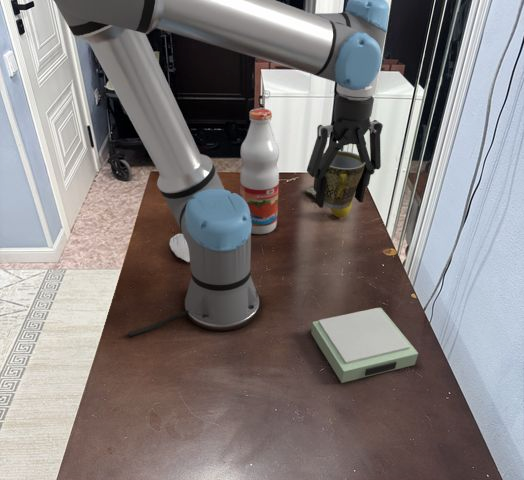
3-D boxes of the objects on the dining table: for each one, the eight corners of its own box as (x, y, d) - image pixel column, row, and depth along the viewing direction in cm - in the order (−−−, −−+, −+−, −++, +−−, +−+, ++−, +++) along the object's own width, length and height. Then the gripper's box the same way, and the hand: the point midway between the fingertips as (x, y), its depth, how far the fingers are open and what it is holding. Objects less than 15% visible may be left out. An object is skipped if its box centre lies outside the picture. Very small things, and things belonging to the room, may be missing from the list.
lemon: (348, 223, 129) (353, 195, 124) (327, 221, 130) (331, 192, 125) (350, 213, 133) (354, 185, 128) (329, 211, 134) (333, 183, 129)
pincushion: (202, 262, 115) (200, 240, 111) (176, 266, 113) (173, 244, 110) (190, 236, 123) (188, 215, 119) (166, 240, 122) (163, 219, 118)
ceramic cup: (312, 191, 117) (317, 149, 110) (355, 194, 117) (362, 151, 110) (315, 218, 107) (321, 173, 100) (361, 220, 107) (370, 176, 100)
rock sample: (310, 170, 143) (328, 159, 136) (329, 188, 146) (347, 178, 138) (294, 197, 141) (311, 187, 133) (313, 215, 143) (331, 206, 136)
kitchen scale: (342, 384, 88) (345, 370, 85) (310, 333, 97) (312, 319, 95) (415, 366, 91) (420, 352, 89) (378, 318, 101) (381, 305, 99)
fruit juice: (265, 214, 132) (268, 102, 113) (283, 229, 126) (290, 114, 107) (234, 222, 129) (231, 108, 110) (251, 238, 123) (252, 121, 104)
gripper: (311, 104, 91) (300, 216, 106) (414, 96, 96) (389, 203, 112) (296, 92, 96) (288, 200, 111) (394, 85, 102) (374, 189, 117)
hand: (339, 202), depth 112 cm, fingers closed on ceramic cup, 9 cm apart
